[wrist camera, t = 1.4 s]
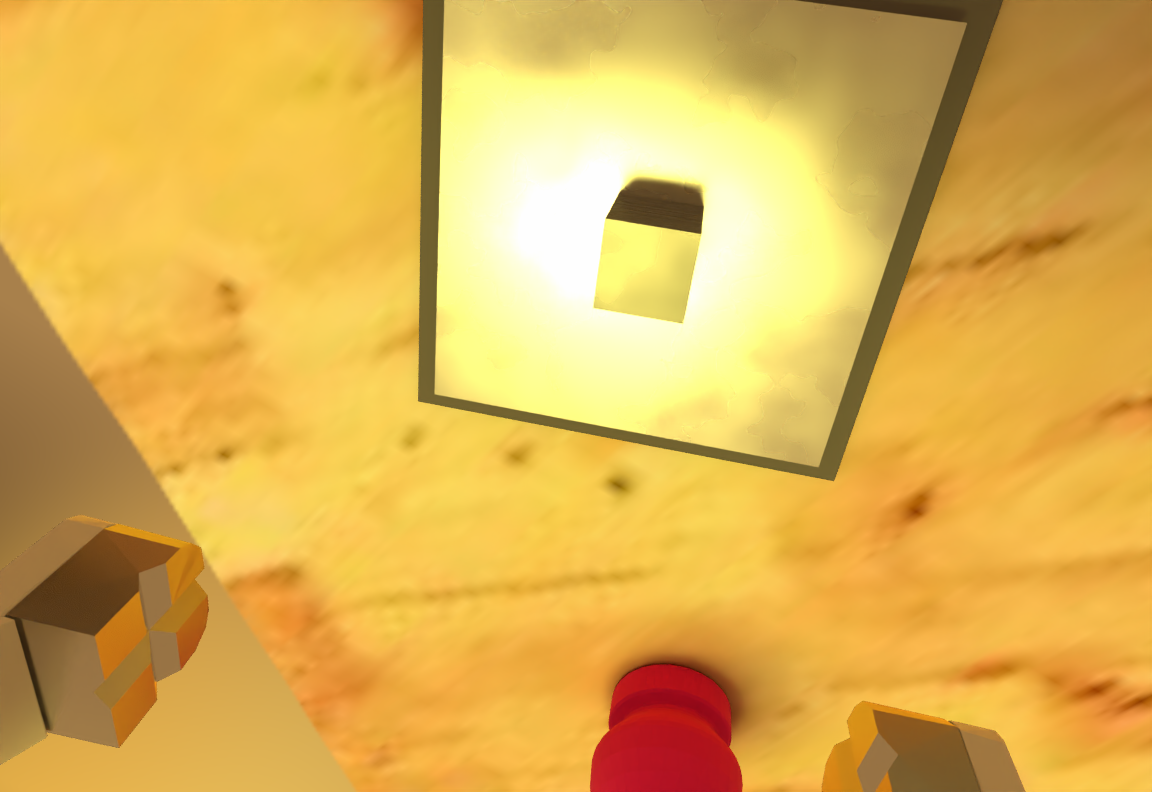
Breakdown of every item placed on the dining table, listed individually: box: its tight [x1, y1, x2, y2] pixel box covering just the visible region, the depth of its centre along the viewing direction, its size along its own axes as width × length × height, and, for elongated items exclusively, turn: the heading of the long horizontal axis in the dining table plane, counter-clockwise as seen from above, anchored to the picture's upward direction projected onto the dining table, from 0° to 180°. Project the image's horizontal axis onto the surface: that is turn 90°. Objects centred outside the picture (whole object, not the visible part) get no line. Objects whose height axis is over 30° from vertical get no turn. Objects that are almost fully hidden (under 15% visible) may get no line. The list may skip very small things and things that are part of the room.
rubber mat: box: [418, 0, 1003, 481], centre depth 27 cm, size 18×18×1 cm
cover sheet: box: [435, 0, 967, 467], centre depth 25 cm, size 16×16×4 cm
